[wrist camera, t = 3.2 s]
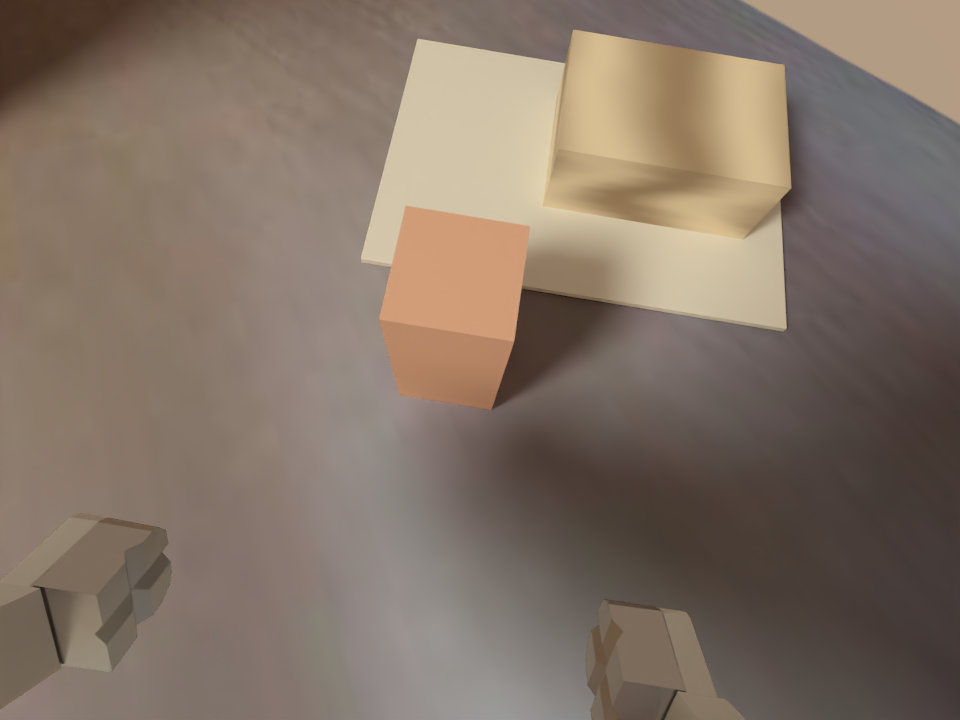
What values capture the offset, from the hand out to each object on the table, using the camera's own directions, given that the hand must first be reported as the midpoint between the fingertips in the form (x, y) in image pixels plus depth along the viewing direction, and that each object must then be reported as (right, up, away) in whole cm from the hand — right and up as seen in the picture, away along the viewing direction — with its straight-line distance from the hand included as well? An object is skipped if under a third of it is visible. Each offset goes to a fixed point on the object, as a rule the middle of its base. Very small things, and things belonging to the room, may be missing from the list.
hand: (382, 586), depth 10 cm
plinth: (+10, +14, +18) cm, 25 cm away
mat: (+7, +14, +18) cm, 23 cm away
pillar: (+1, +4, +14) cm, 15 cm away
